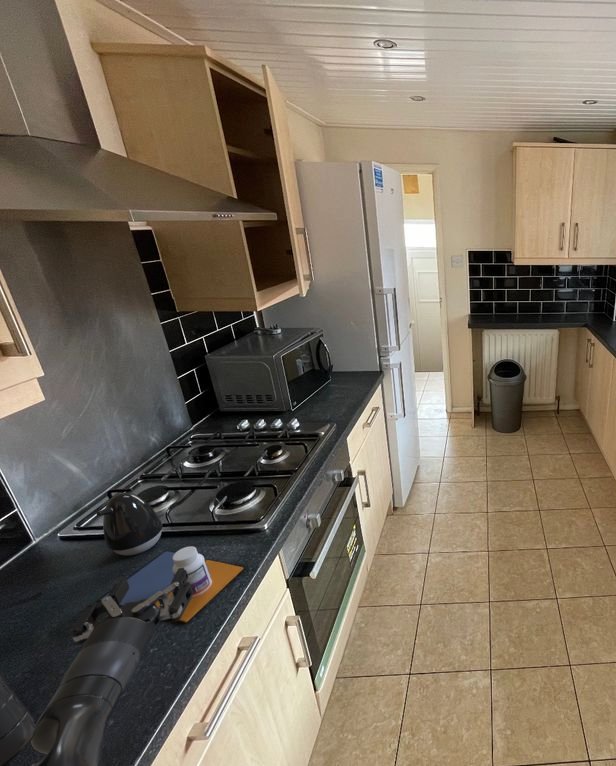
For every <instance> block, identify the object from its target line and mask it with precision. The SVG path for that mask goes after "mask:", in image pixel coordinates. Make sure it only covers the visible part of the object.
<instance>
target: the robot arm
mask: <svg viewBox="0 0 616 766" xmlns="http://www.w3.org/2000/svg"><path fill="white" fill-rule="evenodd" d="M187 579H188V574H187V571H186V570H184V568H179V569H178V570H177V572H176V574H175V576H174V578H173V580H172V582H171V585H169V586H168V587H167V588H166V589H164V590H163V591H158V592H156V593H155V594H154V595H152V596H151V597H150V598H148V599H143V600H140V601H137V602H130V603H125V605H123V606H118V605H119V604H120V603H121V601H122V600H123V598H124V596H125V595H126V593H127V591H128V590H129V584H128V582H127V580H128V579H122V580H119V581H118V583H116V584H114V586H113V587H112V589H110V592H109V593H108V594H109V595H108V596H107V597H106V598H104V599H103V600H102V601H101V600H100V601H99V602H95V601H93V602H90V603H88V604H87V605H86V606H85V607H84V609H83V610H82V613H81V614H80V616H79V617H78V619H77V620H76V622H75V623H74V625H73V627H72V629H71V631H70V636H71V638H72V639H73V641H74V643H75V645H77V646H81V645H82V644H83V645H82V646H81V648H80V649H79V651H78V652H77V654H76V656H75V657H74V658H73V661H72V662H71V664H70V666H68V668H67V670H66V671H65V673H64V675H63V677H62V679H61V681H60V684H59V686H58V688H57V689H56V691H55V693H54V694H53V696H52V697H51V698H50V700H49V702H48V704H47V705H46V707H45V709H44V710H43V712H42V714H41V715H40V717H39V719H38V720H37V722H36V720H35V718H34V717H33V715H32V713H31V712H30V711H29V709H28V708H27V707H26V704H24V702H23V701H22V699H21V698H20V697H19V696H18V694H17V693H16V692H15V690H14V689H13V687H12V686H11V685H10V684H9V682H8V680H6V678H5V677H4V675H3V673H2V672H1V671H0V766H11V764H10V763H11V762H13V761H14V760H15V759H16V758H17V757H18V756H19V755H20V754H21V753H22V752H23V751H24V750H25V749H26V748H27V747H28V745H29V744H31V746H32V748H33V749H34V750H35V751H36V752H38V753H41V754H44V755H45V756H44V757H43V758H42V759H40V760H37V761H35V762H33V763H30V764H29V765H27V766H99V765H100V760H101V755H102V749H103V745H104V740H105V734H106V729H107V724H108V722H109V720H110V718H111V716H112V713H113V711H114V709H115V708H116V705H117V703H118V702H119V699H120V697H121V696H122V694H123V692H124V691H125V689H126V687H127V686H128V684H129V683H130V681H131V679H132V678H133V676H134V674H135V672H136V669H137V667H138V666H139V663H140V661H141V659H142V657H143V655H144V653H145V651H146V649H147V647H148V646H149V643H150V641H151V638H152V637H153V632H154V629H155V628H156V626H157V625H159V623H160V622H161V621H166V620H171V621H172V623H176V622H180V621H179V620H180V619H181V617H182V615H183V613H184V611H185V609H186V607H187V605H188V604H189V602H190V600H191V598H192V596H193V591H192V588H191V585H190V583H189V582H186V581H187ZM171 592H172V593H173V594H172V595H171V596H169V597H168V598H167V596H168V595H169V594H170V593H171ZM157 601H159V603H160V606H159V607H157V606H156V604H155V603H156V602H157ZM104 613H106V615H107V616H106V617H104V618H103V619H101V620H100V621H99V619H100V617H101V614H104ZM98 621H99V622H98Z"/></svg>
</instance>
